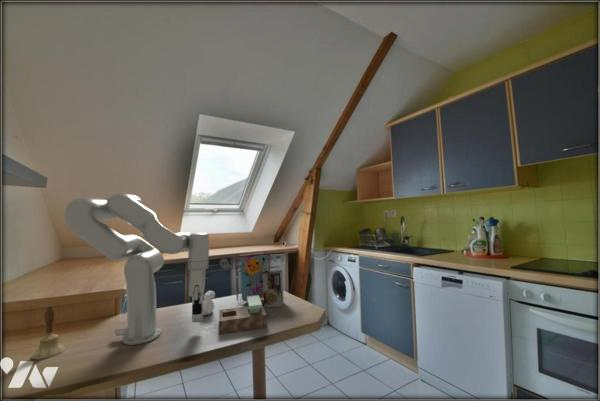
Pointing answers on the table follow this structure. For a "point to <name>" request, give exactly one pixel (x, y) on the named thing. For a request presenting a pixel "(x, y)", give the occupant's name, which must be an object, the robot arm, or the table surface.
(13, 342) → the table surface
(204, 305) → the bust
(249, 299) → the button
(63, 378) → the table surface
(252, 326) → the socket block
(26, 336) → the table surface
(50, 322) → the hand bell
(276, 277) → the coffee box
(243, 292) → the box
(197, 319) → the peg
